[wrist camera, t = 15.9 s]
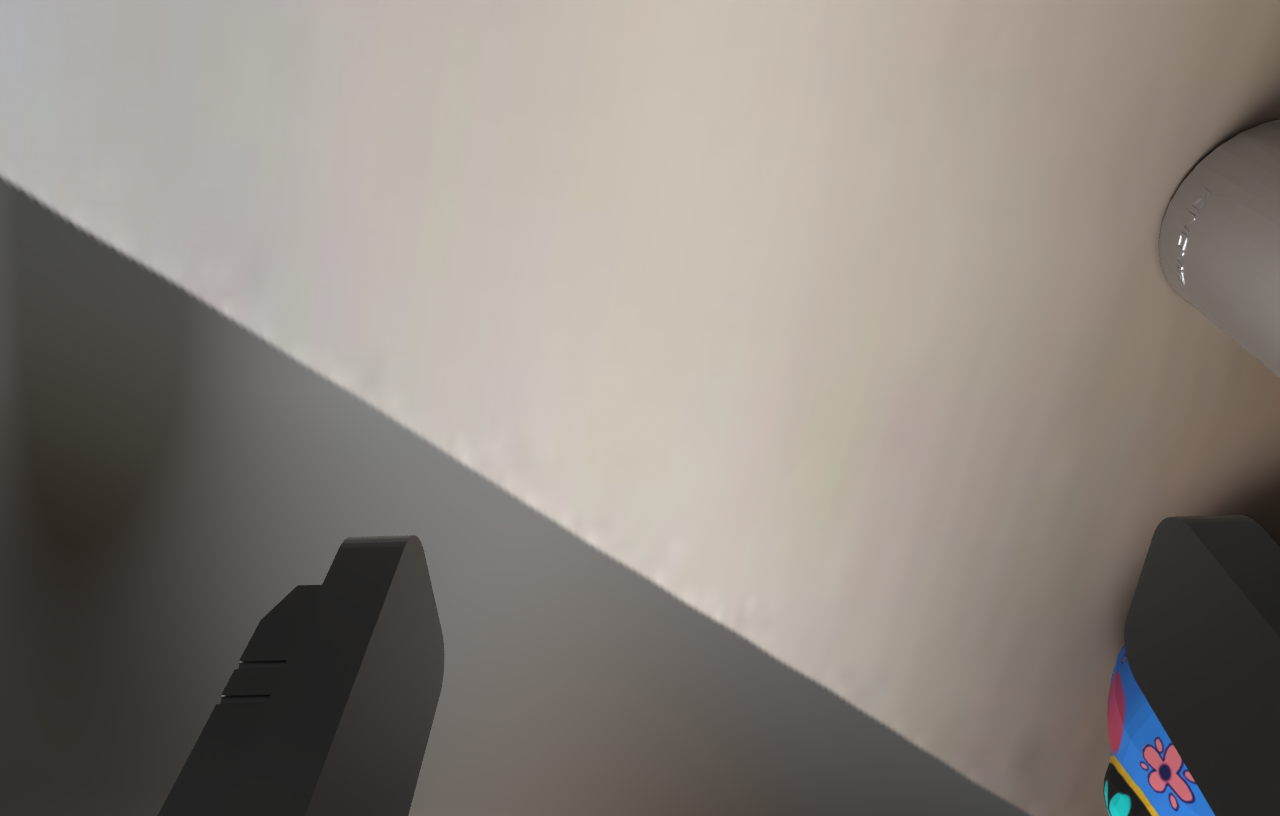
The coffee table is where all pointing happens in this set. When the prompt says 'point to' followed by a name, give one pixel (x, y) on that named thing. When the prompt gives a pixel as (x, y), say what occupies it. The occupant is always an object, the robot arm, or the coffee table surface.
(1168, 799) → the ceramic pot
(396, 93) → the coffee table surface
